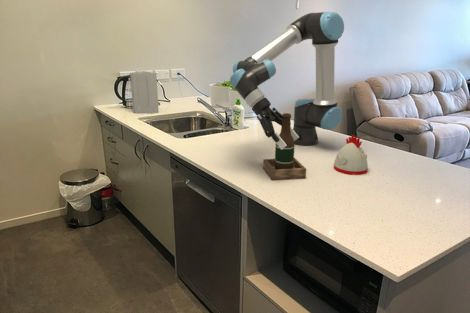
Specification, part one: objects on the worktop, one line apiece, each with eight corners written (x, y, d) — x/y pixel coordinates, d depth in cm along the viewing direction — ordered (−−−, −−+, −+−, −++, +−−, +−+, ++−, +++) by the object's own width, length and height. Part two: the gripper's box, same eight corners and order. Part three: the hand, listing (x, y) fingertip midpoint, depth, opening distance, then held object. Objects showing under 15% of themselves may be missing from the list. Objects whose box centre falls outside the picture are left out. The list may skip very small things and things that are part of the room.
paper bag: (128, 111, 266) (124, 72, 257) (146, 108, 276) (143, 71, 266) (140, 115, 253) (137, 74, 244) (159, 112, 262) (156, 73, 253)
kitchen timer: (349, 177, 147) (353, 142, 142) (326, 166, 159) (330, 133, 154) (374, 171, 153) (379, 137, 148) (350, 161, 165) (354, 130, 160)
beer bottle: (294, 168, 153) (298, 112, 145) (291, 175, 146) (294, 116, 138) (276, 166, 155) (279, 111, 147) (272, 172, 148) (274, 115, 140)
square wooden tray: (293, 166, 158) (294, 157, 157) (305, 178, 145) (306, 168, 144) (263, 168, 156) (263, 159, 155) (272, 180, 143) (272, 170, 142)
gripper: (264, 103, 160) (294, 141, 158) (237, 113, 139) (271, 157, 137) (276, 92, 156) (307, 131, 154) (250, 101, 135) (285, 145, 133)
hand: (290, 143), depth 145 cm, fingers open, 13 cm apart
